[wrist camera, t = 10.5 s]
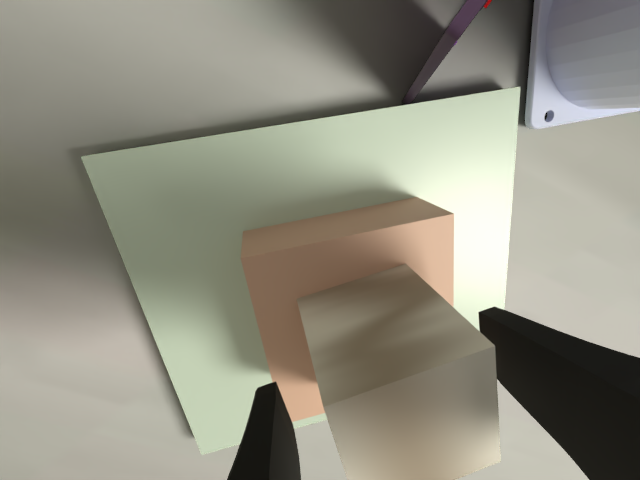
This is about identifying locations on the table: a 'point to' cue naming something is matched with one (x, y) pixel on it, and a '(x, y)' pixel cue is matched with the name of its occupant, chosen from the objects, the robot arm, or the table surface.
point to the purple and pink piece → (445, 45)
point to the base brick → (335, 275)
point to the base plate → (287, 206)
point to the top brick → (402, 379)
